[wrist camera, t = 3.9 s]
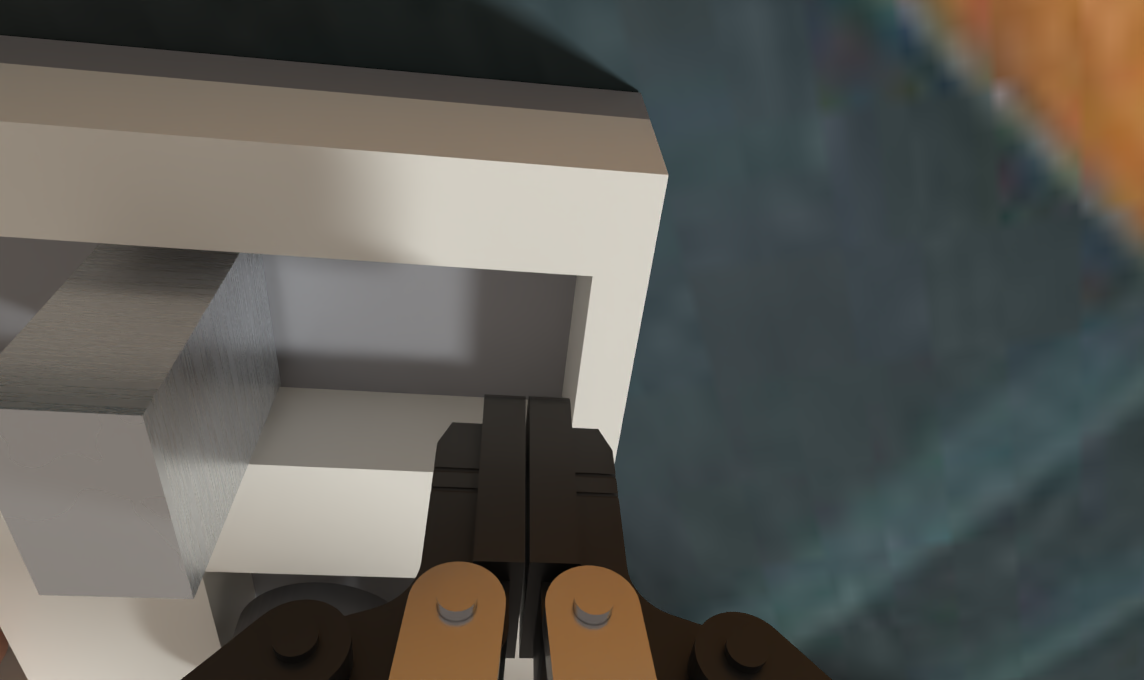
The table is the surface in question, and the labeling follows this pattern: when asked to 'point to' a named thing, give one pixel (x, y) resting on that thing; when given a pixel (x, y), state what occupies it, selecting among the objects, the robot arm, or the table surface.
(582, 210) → the console
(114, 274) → the steel slider
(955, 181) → the table surface
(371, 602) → the black button
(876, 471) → the table surface
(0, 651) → the terracotta button
